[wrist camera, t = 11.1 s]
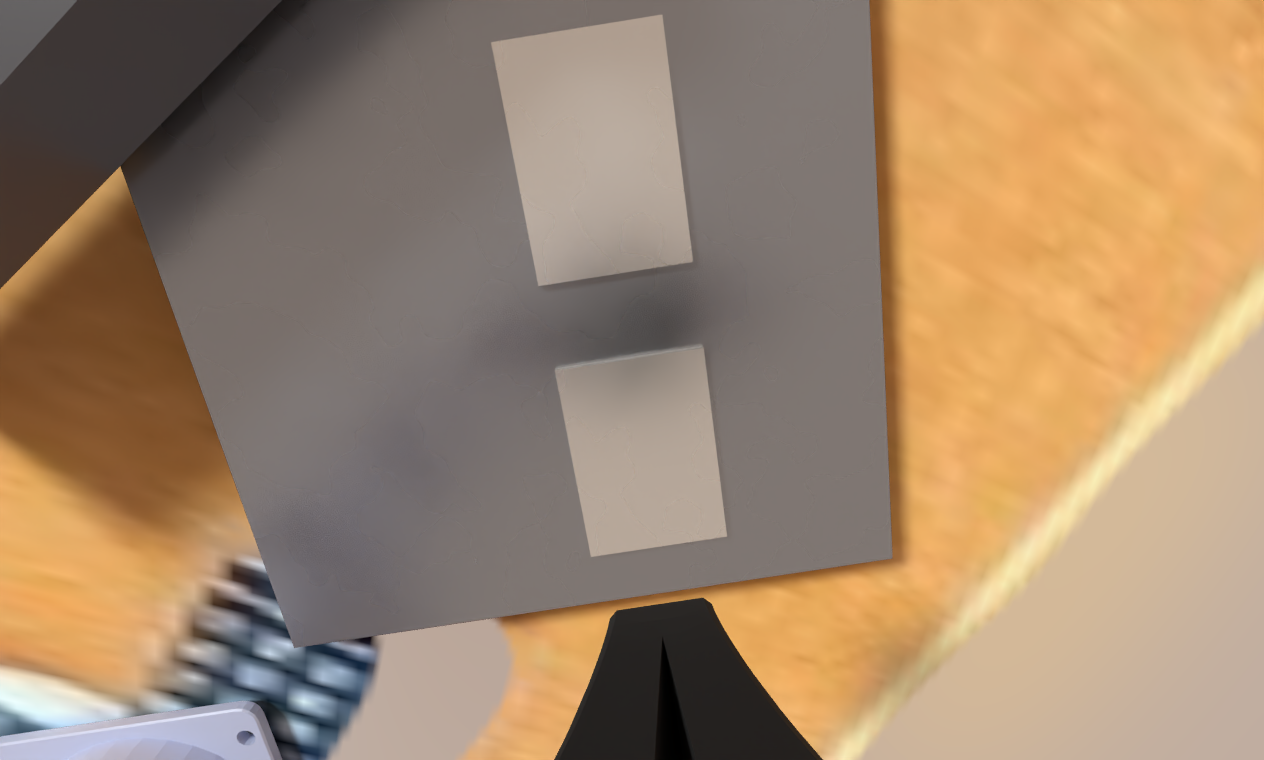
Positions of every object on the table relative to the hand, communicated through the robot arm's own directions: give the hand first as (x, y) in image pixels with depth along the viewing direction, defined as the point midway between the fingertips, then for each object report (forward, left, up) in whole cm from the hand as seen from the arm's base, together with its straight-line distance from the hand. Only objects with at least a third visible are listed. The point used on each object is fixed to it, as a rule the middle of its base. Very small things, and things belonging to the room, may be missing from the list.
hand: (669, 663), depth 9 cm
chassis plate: (+4, +2, -8) cm, 10 cm away
